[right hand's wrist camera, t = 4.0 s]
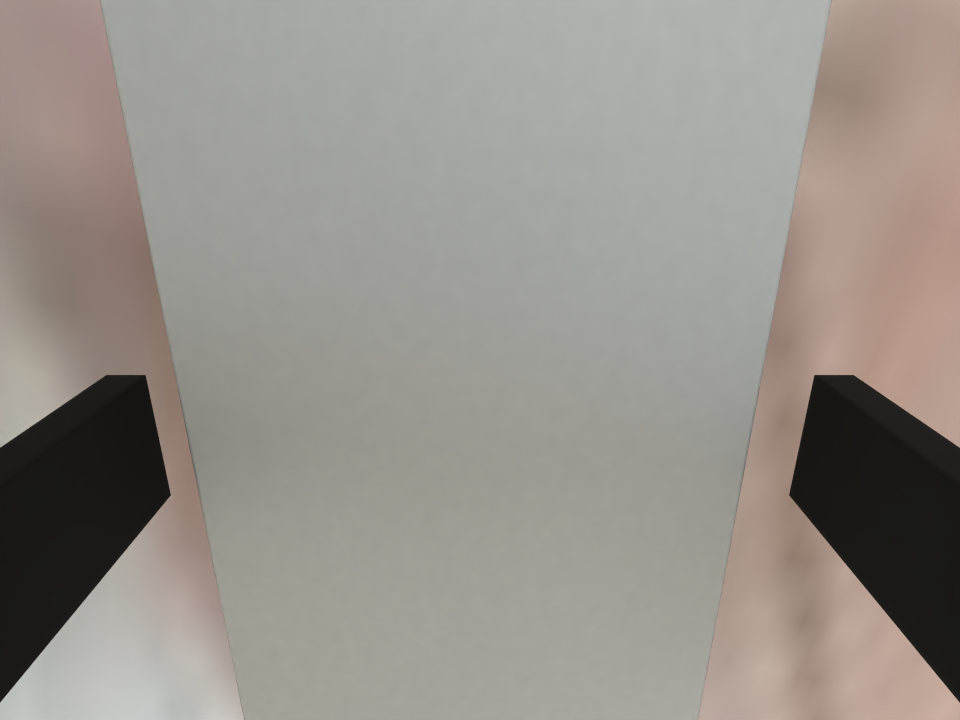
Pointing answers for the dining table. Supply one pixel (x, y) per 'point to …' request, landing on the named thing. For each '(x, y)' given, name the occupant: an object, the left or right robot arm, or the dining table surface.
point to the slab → (468, 331)
